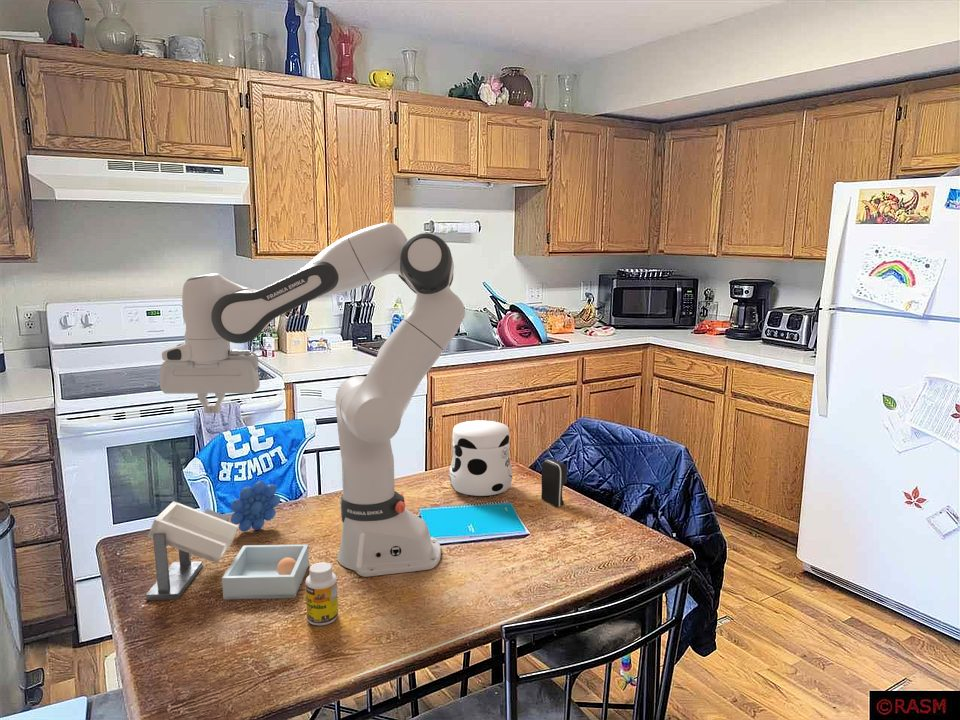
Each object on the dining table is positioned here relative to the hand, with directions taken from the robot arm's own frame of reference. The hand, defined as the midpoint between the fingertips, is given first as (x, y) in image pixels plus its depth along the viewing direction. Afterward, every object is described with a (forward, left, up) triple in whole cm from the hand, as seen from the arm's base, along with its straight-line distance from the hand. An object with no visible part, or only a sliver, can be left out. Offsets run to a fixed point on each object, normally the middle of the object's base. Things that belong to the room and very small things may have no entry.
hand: (212, 412), depth 144 cm
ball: (-18, +16, -28) cm, 37 cm away
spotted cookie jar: (-60, -31, -31) cm, 74 cm away
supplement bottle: (-28, +30, -31) cm, 52 cm away
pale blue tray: (-15, +16, -31) cm, 38 cm away
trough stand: (+4, +16, -31) cm, 35 cm away
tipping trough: (0, +12, -22) cm, 25 cm away
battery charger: (-79, -22, -31) cm, 88 cm away
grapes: (-5, -9, -31) cm, 33 cm away
